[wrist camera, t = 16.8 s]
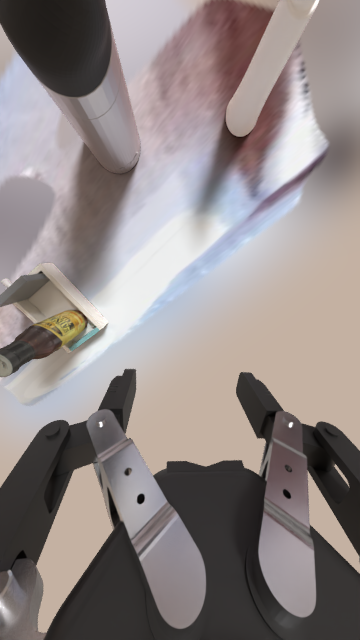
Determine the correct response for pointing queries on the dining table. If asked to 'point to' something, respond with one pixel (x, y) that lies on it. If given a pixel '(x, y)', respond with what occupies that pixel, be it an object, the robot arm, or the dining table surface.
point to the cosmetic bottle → (268, 63)
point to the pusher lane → (60, 304)
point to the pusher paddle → (22, 288)
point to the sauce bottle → (41, 340)
